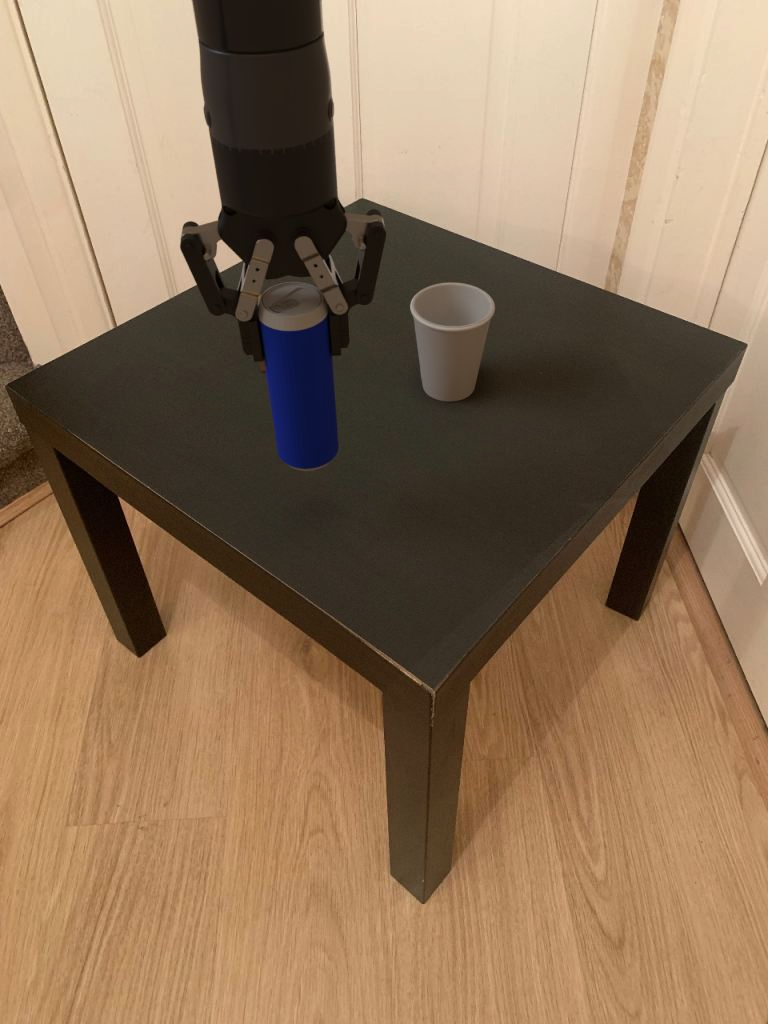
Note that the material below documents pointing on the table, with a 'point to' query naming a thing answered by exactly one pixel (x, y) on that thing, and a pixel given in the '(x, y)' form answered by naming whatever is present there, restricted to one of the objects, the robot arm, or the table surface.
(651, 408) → the table surface
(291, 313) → the beverage can
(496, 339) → the table surface
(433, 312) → the dixie cup
